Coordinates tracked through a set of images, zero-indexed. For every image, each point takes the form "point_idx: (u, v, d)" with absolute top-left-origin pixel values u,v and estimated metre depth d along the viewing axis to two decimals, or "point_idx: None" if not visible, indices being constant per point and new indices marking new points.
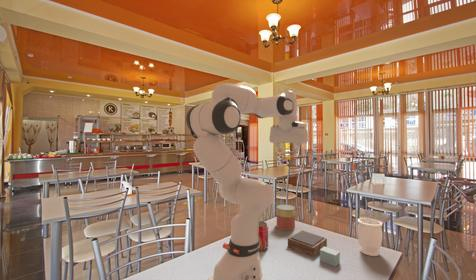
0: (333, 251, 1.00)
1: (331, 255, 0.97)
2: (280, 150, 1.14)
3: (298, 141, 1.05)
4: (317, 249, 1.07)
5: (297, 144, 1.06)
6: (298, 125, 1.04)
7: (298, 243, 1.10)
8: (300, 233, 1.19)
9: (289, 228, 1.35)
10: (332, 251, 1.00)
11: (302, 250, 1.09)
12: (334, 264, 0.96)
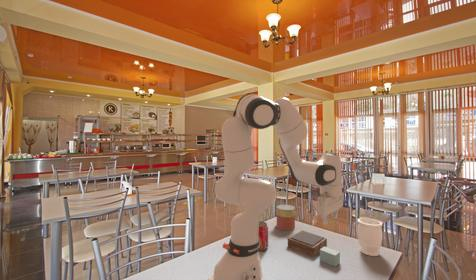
0: (333, 251, 1.00)
1: (331, 255, 0.97)
2: None
3: (340, 206, 1.04)
4: (317, 249, 1.07)
5: (338, 209, 1.04)
6: (344, 190, 1.03)
7: (298, 243, 1.10)
8: (300, 233, 1.19)
9: (289, 228, 1.35)
10: (332, 251, 1.00)
11: (302, 250, 1.09)
12: (334, 264, 0.96)
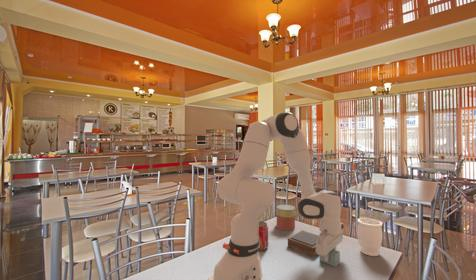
0: (333, 251, 1.00)
1: (331, 255, 0.97)
2: None
3: (340, 241, 1.04)
4: None
5: (335, 246, 1.03)
6: (343, 226, 1.03)
7: (298, 243, 1.10)
8: (300, 233, 1.19)
9: (289, 228, 1.35)
10: (332, 251, 1.00)
11: (302, 250, 1.09)
12: (334, 264, 0.96)
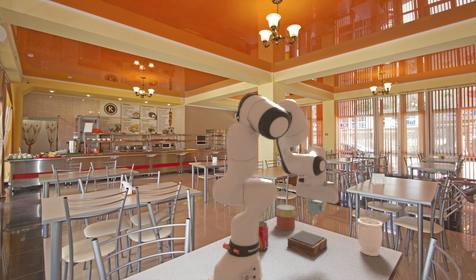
0: (316, 200, 1.09)
1: None
2: None
3: None
4: (317, 249, 1.07)
5: None
6: None
7: (298, 243, 1.10)
8: (300, 233, 1.19)
9: (289, 228, 1.35)
10: (316, 201, 1.09)
11: (302, 250, 1.09)
12: None
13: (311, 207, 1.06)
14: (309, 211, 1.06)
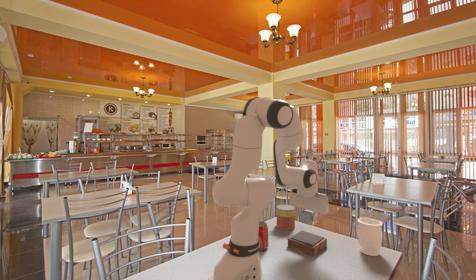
0: (308, 210, 1.15)
1: None
2: None
3: None
4: (317, 249, 1.07)
5: None
6: None
7: (298, 243, 1.10)
8: (300, 233, 1.19)
9: (289, 228, 1.35)
10: (308, 210, 1.15)
11: (302, 250, 1.09)
12: None
13: (303, 217, 1.12)
14: (301, 220, 1.13)
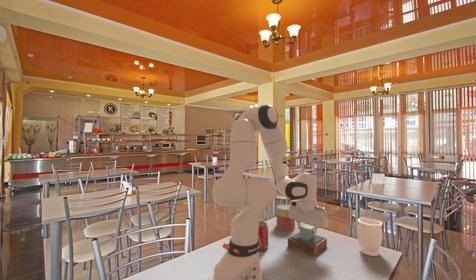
0: (307, 226, 1.16)
1: None
2: None
3: None
4: (317, 249, 1.07)
5: None
6: None
7: (298, 243, 1.10)
8: None
9: (289, 228, 1.35)
10: (307, 226, 1.15)
11: (302, 250, 1.09)
12: (314, 234, 1.15)
13: (303, 234, 1.12)
14: (301, 237, 1.13)
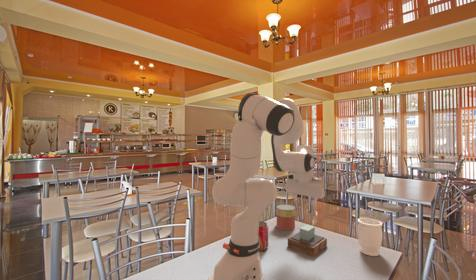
0: (307, 226, 1.16)
1: (313, 229, 1.14)
2: None
3: None
4: (317, 249, 1.07)
5: None
6: None
7: (298, 243, 1.10)
8: None
9: (289, 228, 1.35)
10: (307, 226, 1.15)
11: (302, 250, 1.09)
12: (314, 234, 1.15)
13: (303, 234, 1.12)
14: (301, 237, 1.13)
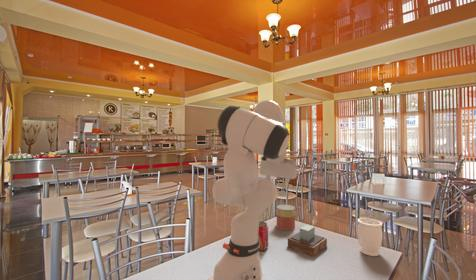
0: (307, 226, 1.16)
1: (313, 229, 1.14)
2: None
3: None
4: (317, 249, 1.07)
5: None
6: None
7: (298, 243, 1.10)
8: None
9: (289, 228, 1.35)
10: (307, 226, 1.15)
11: (302, 250, 1.09)
12: (314, 234, 1.15)
13: (303, 234, 1.12)
14: (301, 237, 1.13)
